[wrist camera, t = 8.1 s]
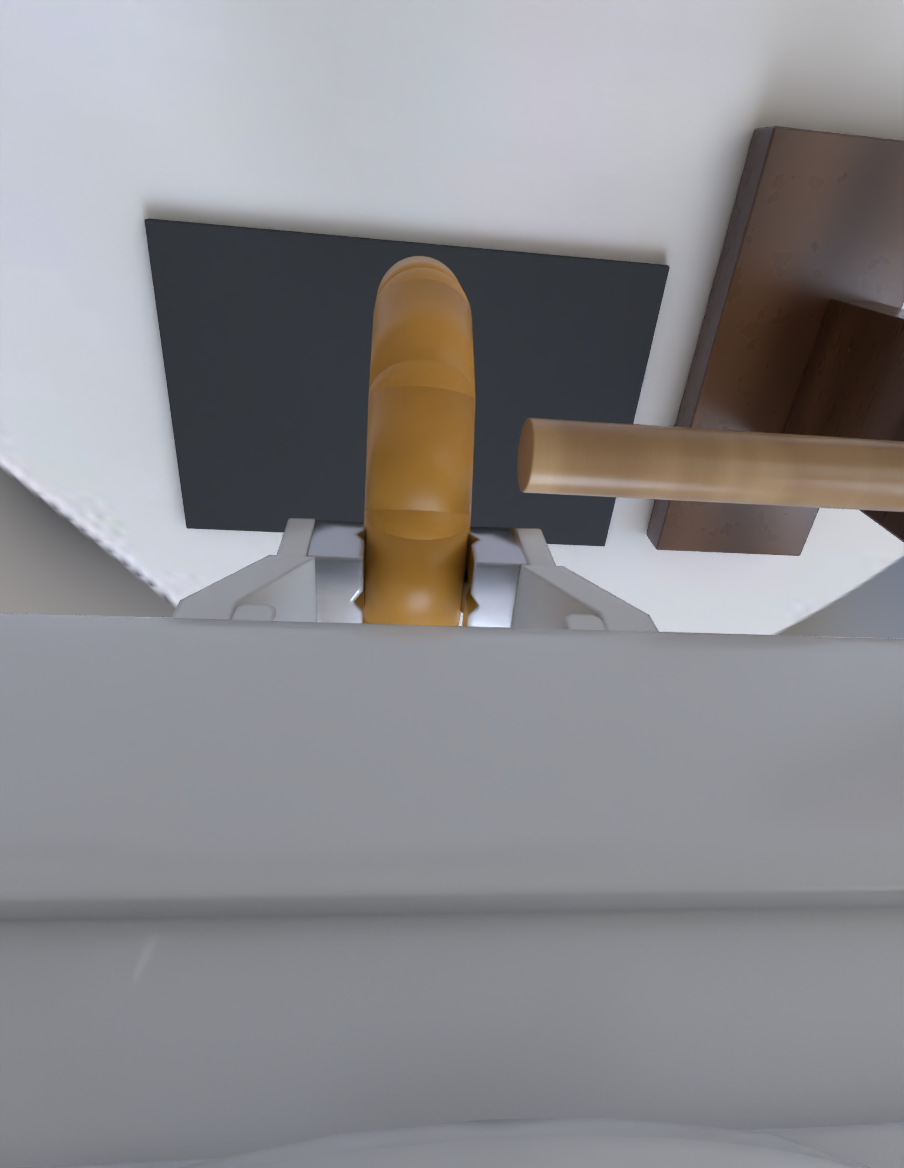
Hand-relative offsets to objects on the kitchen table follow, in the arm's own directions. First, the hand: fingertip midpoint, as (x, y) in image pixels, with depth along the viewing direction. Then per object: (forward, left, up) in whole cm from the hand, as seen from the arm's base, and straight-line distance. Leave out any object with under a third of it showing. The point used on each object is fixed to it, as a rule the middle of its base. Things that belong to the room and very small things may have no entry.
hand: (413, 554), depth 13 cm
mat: (+1, -1, -16) cm, 16 cm away
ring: (0, 0, -4) cm, 4 cm away
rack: (+10, +5, -16) cm, 19 cm away
